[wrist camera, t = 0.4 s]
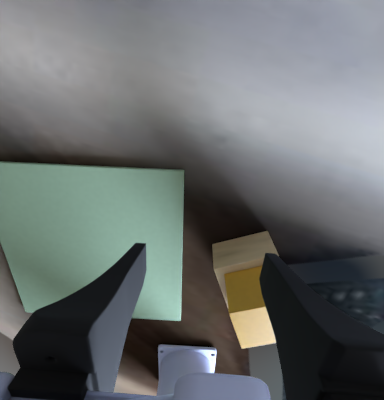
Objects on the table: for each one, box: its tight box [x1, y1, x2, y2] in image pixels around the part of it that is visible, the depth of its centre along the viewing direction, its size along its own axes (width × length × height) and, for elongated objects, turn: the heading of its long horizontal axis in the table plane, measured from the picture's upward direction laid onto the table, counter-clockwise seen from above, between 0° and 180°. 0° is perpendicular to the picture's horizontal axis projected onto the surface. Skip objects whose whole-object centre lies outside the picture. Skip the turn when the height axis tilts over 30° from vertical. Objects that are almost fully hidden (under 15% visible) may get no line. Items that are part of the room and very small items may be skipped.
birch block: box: [212, 231, 279, 308], centre depth 25 cm, size 6×6×4 cm
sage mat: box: [0, 161, 184, 321], centre depth 27 cm, size 20×20×1 cm
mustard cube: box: [224, 266, 276, 349], centre depth 21 cm, size 4×4×4 cm
